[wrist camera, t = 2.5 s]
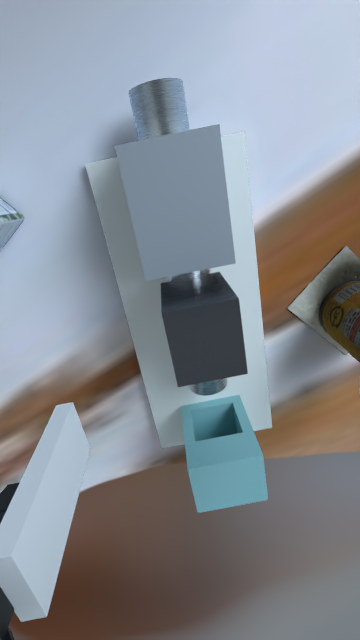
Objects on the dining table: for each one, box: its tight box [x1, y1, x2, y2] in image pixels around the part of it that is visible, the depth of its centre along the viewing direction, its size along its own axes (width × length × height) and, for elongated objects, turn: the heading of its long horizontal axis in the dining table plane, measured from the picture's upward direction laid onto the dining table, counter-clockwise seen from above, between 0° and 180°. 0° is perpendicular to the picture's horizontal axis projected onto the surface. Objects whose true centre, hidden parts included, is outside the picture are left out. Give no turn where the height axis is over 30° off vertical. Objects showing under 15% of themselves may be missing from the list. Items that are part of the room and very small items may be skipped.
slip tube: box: [129, 78, 248, 396], centre depth 22 cm, size 22×4×9 cm, turn 11°
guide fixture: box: [85, 124, 272, 513], centre depth 26 cm, size 28×12×9 cm, turn 11°
